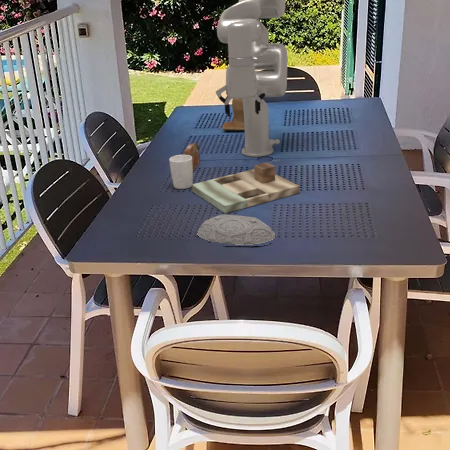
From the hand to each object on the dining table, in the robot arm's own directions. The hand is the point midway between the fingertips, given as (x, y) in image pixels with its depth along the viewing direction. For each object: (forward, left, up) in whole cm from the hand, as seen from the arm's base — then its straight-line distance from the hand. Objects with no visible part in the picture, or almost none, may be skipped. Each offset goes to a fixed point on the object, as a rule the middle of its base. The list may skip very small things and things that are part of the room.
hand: (242, 114), depth 201 cm
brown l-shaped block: (-32, -57, -24) cm, 70 cm away
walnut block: (-2, +9, -21) cm, 23 cm away
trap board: (+6, +9, -23) cm, 26 cm away
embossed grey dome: (+25, +36, -24) cm, 50 cm away
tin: (+9, -24, -24) cm, 35 cm away
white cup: (+20, -9, -24) cm, 32 cm away
